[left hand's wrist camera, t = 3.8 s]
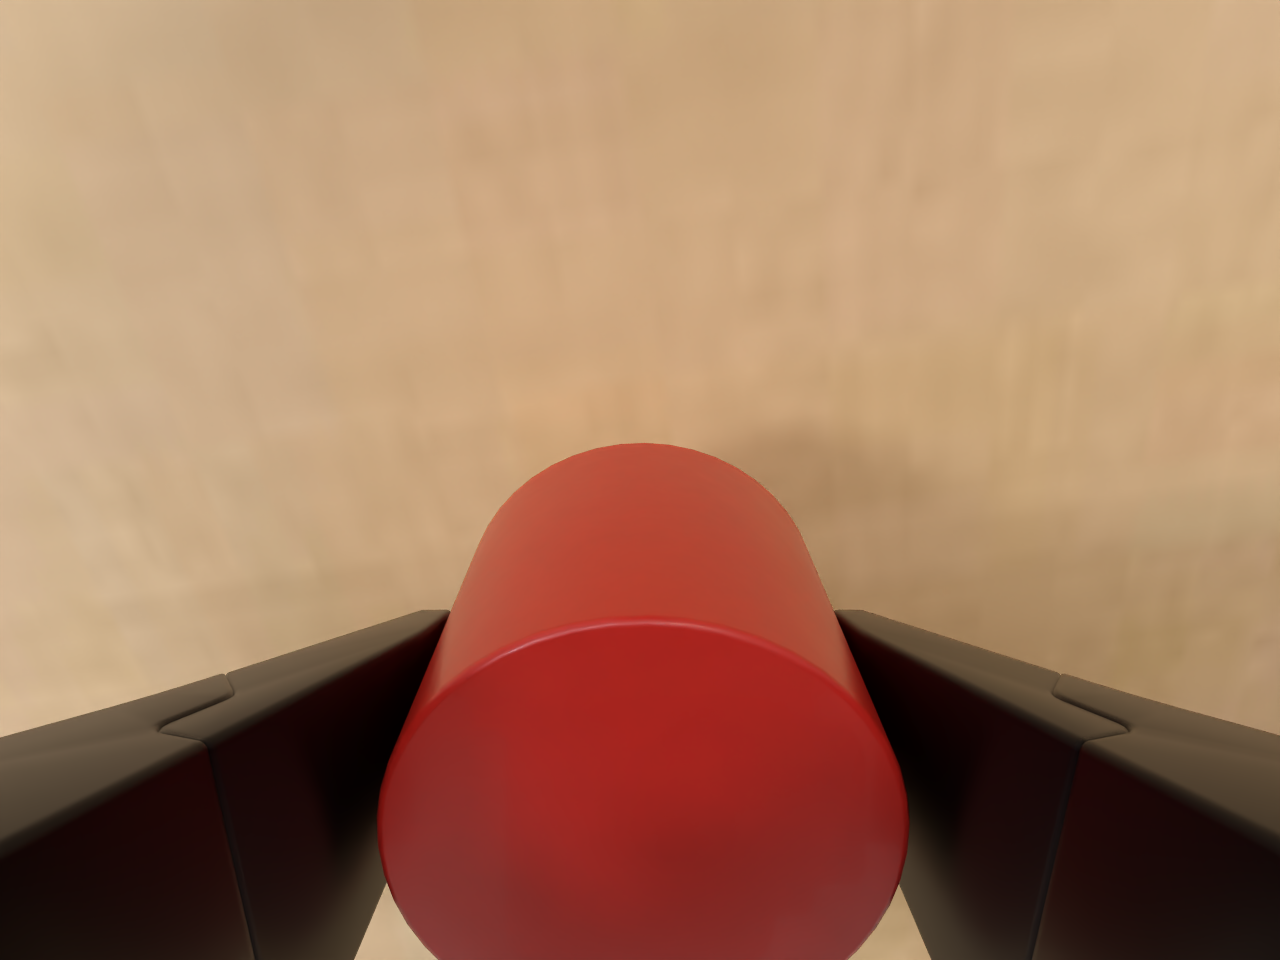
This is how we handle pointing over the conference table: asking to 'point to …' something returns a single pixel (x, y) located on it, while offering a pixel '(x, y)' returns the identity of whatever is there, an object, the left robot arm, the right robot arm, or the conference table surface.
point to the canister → (642, 734)
